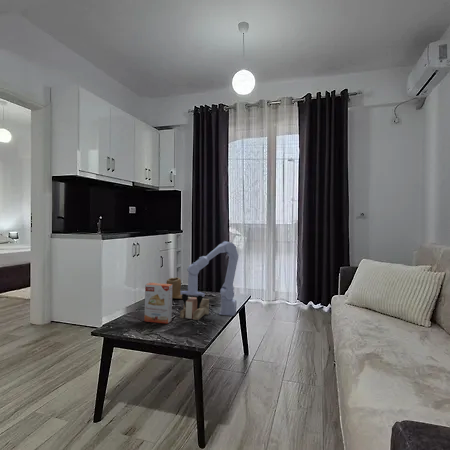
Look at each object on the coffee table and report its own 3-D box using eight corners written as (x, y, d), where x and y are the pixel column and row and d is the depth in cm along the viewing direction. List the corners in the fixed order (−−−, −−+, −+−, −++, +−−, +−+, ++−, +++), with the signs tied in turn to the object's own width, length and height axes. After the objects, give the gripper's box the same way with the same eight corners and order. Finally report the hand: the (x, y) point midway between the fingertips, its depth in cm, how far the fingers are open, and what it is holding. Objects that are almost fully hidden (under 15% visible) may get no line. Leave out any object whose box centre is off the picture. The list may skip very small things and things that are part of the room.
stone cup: (162, 299, 226) (163, 278, 226) (169, 295, 238) (170, 275, 238) (183, 301, 223) (183, 279, 222) (188, 297, 234) (189, 277, 234)
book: (197, 314, 193) (198, 297, 193) (191, 319, 183) (192, 301, 183) (191, 313, 194) (192, 297, 194) (185, 318, 184) (185, 301, 184)
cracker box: (143, 322, 175) (144, 284, 175) (148, 318, 181) (149, 282, 181) (167, 324, 172) (168, 285, 172) (171, 320, 178) (172, 283, 178)
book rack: (208, 313, 194) (209, 299, 194) (201, 320, 181) (201, 304, 181) (184, 311, 198) (184, 296, 198) (175, 317, 185) (175, 302, 185)
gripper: (178, 285, 186) (178, 308, 187) (202, 287, 183) (201, 310, 183) (183, 282, 193) (182, 305, 193) (206, 284, 190) (205, 307, 190)
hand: (192, 307), depth 189 cm, fingers open, 7 cm apart
